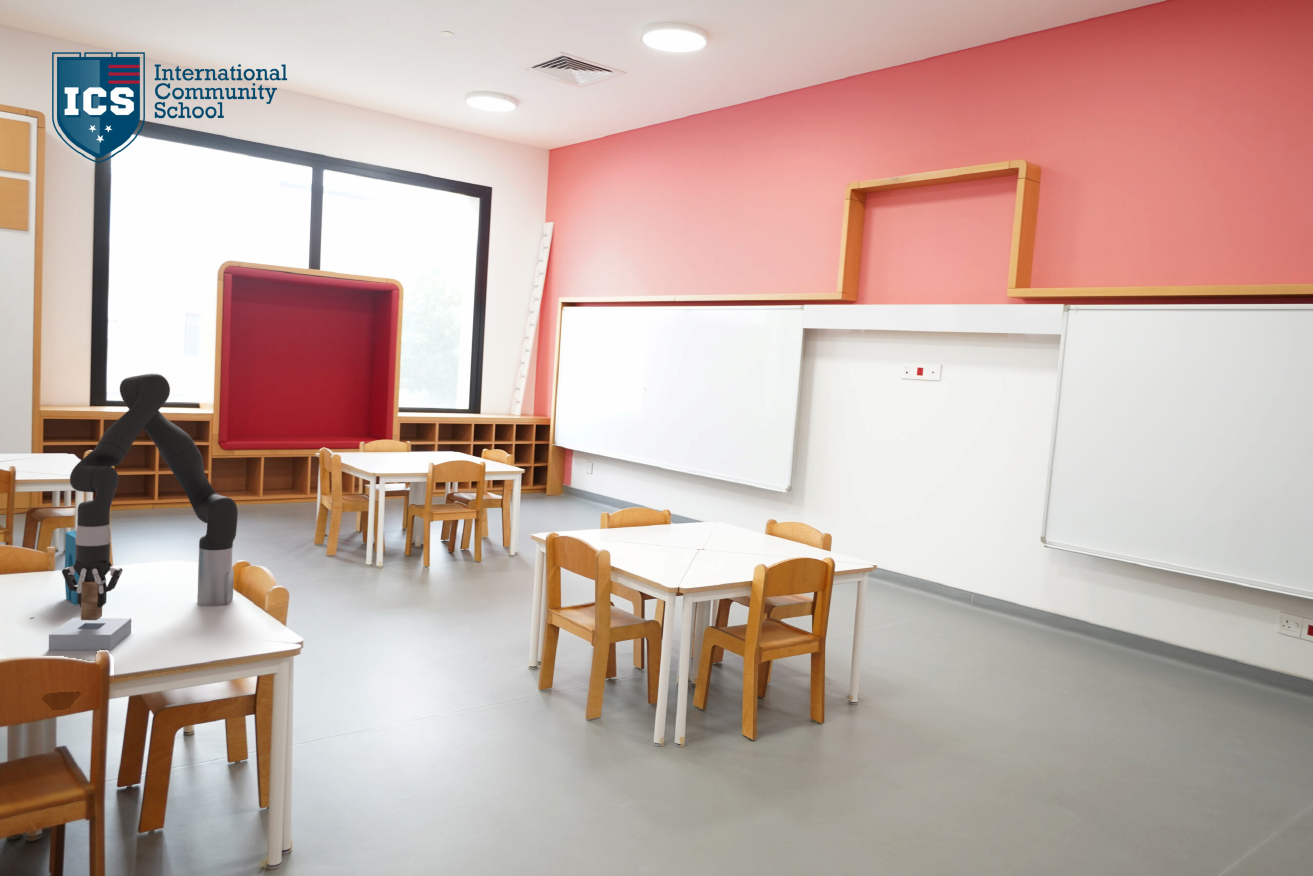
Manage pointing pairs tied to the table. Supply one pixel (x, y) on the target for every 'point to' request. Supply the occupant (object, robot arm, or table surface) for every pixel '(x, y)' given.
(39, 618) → the table surface
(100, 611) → the walnut peg
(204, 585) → the robot arm
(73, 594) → the block
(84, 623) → the socket block
